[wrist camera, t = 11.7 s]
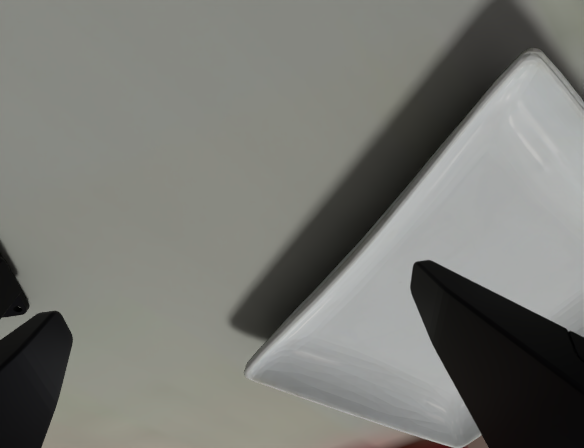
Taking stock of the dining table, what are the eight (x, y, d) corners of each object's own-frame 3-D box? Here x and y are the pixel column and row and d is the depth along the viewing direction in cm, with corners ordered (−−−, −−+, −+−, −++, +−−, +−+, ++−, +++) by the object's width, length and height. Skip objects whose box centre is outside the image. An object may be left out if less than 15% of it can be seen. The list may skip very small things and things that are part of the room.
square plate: (666, 242, 31) (719, 269, 28) (441, 418, 40) (461, 455, 36) (495, 36, 20) (548, 39, 17) (236, 342, 29) (237, 384, 25)
